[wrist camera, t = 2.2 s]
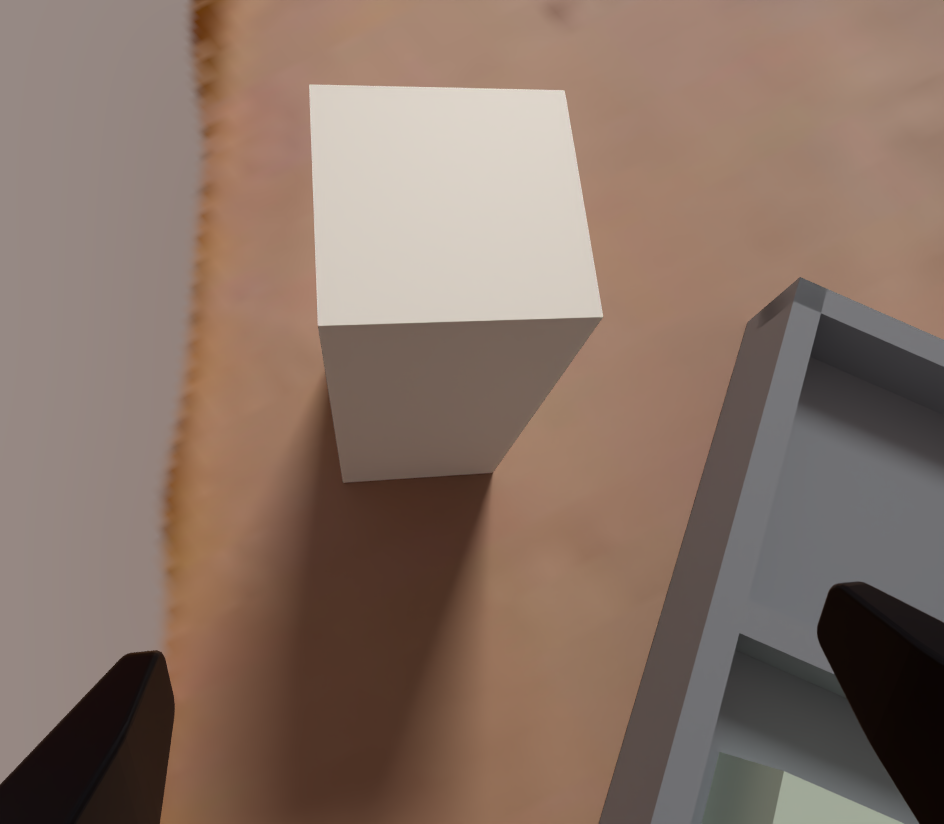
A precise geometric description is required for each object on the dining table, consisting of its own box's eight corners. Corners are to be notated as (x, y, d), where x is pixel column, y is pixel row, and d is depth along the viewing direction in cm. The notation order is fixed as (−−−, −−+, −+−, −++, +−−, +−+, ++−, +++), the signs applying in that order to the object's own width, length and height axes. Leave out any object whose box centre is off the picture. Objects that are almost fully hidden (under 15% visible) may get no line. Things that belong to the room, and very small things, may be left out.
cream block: (492, 472, 24) (603, 316, 13) (342, 482, 23) (318, 325, 12) (477, 337, 25) (564, 90, 14) (336, 342, 25) (309, 84, 13)
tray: (945, 1185, 19) (1107, 1336, 15) (543, 1010, 19) (592, 1112, 15) (1033, 446, 27) (1156, 409, 23) (747, 321, 27) (817, 262, 23)
